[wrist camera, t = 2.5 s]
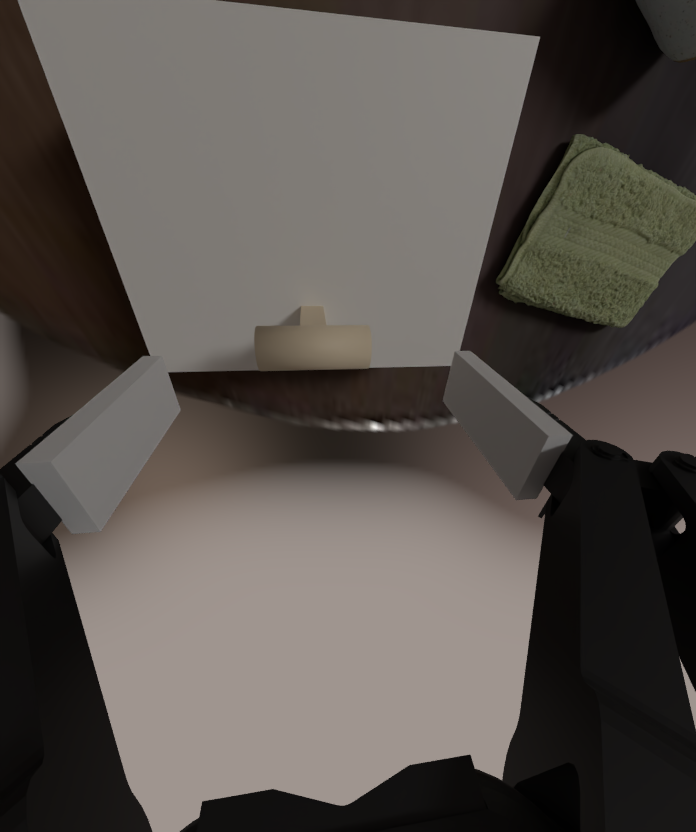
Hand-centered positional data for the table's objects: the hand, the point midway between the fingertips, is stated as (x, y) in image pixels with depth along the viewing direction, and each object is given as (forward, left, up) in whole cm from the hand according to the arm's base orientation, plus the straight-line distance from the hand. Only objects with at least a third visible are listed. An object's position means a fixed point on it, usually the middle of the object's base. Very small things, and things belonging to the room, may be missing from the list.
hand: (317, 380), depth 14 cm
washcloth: (-4, +28, -19) cm, 34 cm away
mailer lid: (-5, 0, -11) cm, 12 cm away
